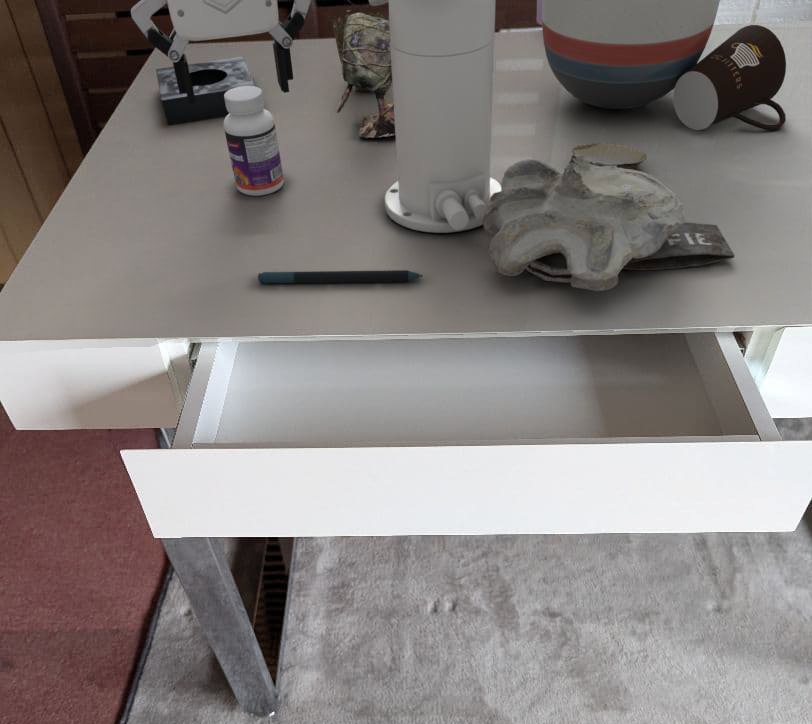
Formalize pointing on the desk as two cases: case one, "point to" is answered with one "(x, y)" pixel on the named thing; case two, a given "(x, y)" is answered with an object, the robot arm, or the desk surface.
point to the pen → (338, 276)
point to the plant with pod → (369, 69)
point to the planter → (624, 46)
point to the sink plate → (202, 89)
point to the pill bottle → (252, 142)
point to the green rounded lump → (340, 36)
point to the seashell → (610, 155)
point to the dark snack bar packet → (663, 253)
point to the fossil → (579, 218)
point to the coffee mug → (733, 80)
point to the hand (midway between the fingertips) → (238, 93)
